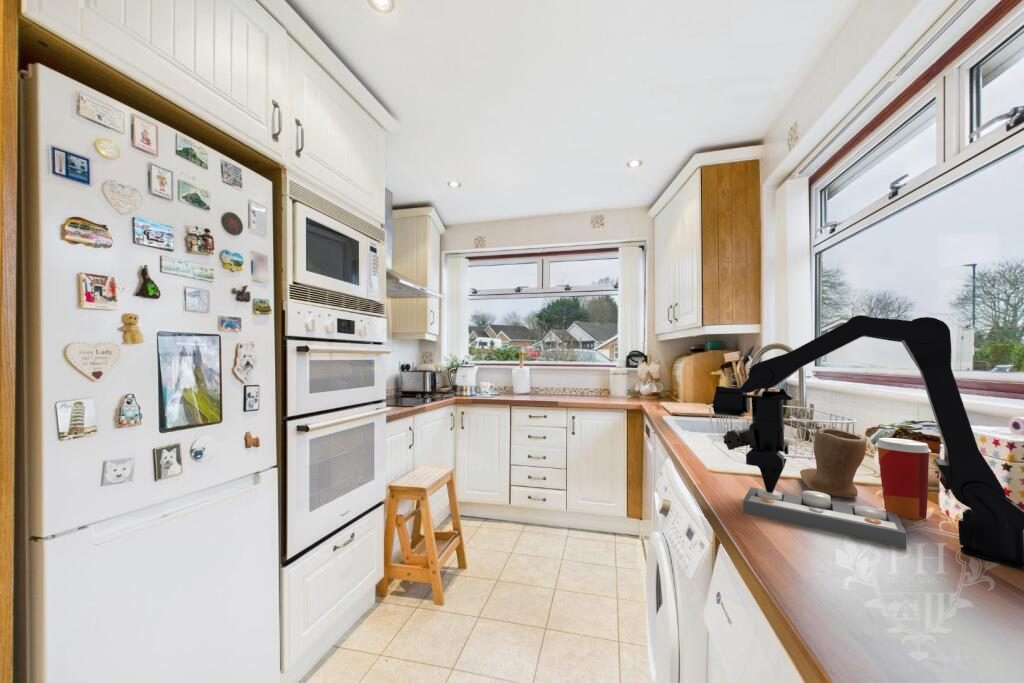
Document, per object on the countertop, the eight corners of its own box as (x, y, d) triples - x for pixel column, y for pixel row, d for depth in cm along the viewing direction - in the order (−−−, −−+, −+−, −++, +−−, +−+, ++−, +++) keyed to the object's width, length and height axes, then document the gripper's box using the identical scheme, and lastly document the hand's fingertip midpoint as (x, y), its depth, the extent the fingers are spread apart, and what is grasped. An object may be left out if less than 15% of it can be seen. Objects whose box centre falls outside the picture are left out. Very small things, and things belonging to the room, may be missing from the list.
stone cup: (874, 506, 84) (872, 436, 85) (806, 496, 90) (804, 431, 91) (858, 486, 97) (855, 426, 98) (799, 479, 103) (797, 422, 104)
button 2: (885, 520, 74) (884, 509, 74) (888, 528, 70) (887, 516, 70) (854, 514, 76) (853, 504, 77) (855, 521, 73) (855, 510, 73)
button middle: (830, 503, 79) (830, 493, 79) (830, 510, 75) (830, 499, 75) (803, 498, 81) (803, 489, 82) (802, 505, 78) (802, 494, 78)
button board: (897, 526, 74) (896, 510, 74) (907, 548, 65) (906, 530, 65) (750, 498, 89) (750, 485, 89) (743, 512, 80) (743, 498, 80)
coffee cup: (908, 507, 83) (905, 437, 84) (947, 523, 75) (943, 446, 76) (866, 506, 84) (863, 436, 85) (900, 522, 76) (897, 445, 77)
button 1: (782, 500, 84) (782, 491, 84) (781, 506, 80) (781, 497, 80) (759, 496, 86) (758, 487, 87) (756, 501, 83) (756, 492, 83)
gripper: (733, 411, 96) (734, 475, 96) (717, 421, 82) (719, 495, 81) (787, 415, 89) (789, 484, 89) (781, 426, 75) (783, 508, 74)
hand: (769, 492), depth 83 cm, fingers closed, pressing on button 1
